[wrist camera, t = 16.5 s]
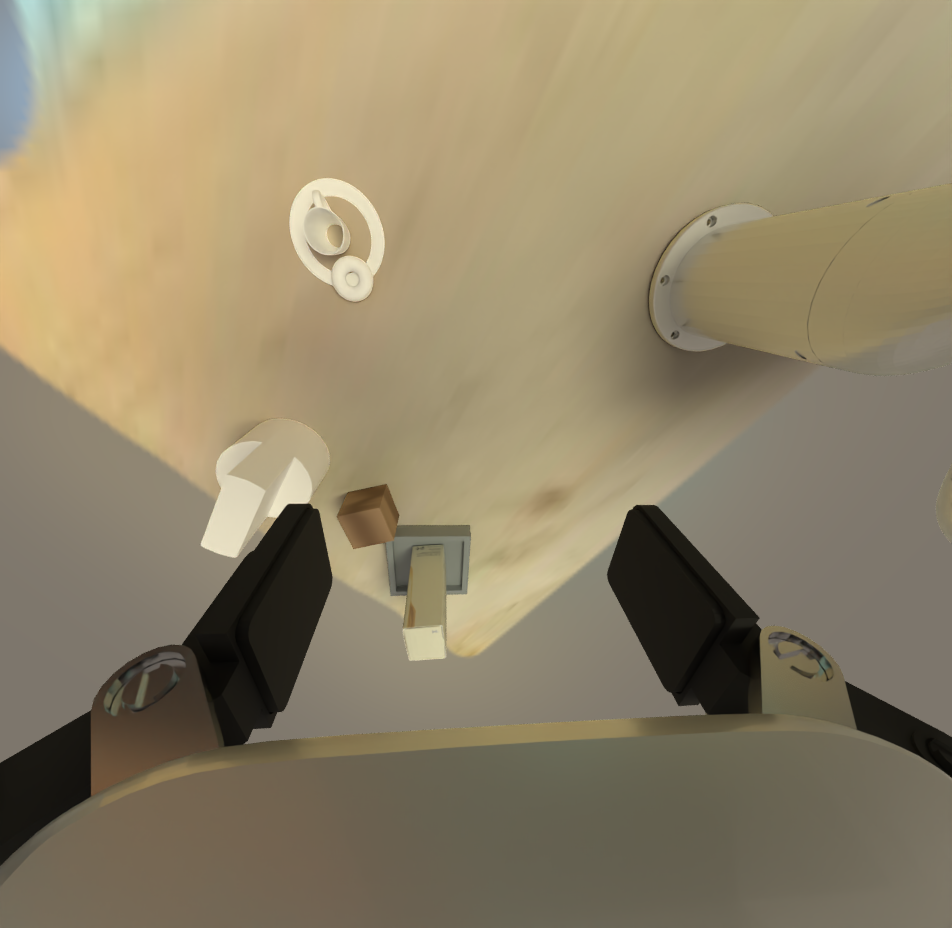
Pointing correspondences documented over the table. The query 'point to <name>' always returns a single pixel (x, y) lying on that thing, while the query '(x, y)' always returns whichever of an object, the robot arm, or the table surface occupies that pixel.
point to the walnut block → (369, 516)
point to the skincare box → (426, 604)
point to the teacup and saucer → (315, 232)
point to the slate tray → (448, 536)
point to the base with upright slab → (263, 480)
